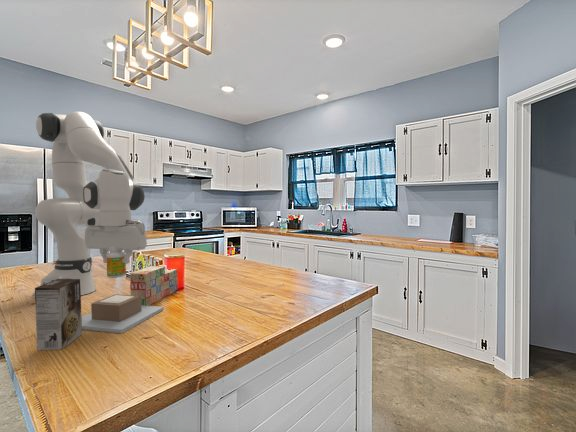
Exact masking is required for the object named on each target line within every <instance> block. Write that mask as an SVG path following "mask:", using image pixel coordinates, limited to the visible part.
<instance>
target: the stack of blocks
mask: <svg viewBox="0 0 576 432" xmlns="http://www.w3.org/2000/svg"><path fill="white" fill-rule="evenodd" d="M168 269H169V268H165V266H157V265H156V266H153V265H152V266H151V265H150V266H148V267H144V268H142V269H139V270H136V271H131V272H130V274H129V275H130V277H129V278H130V281H129V282H130V285H129V287H130V295H133V296H141V305H145V306H152V304H155V303H156V302H159V301H160V300H162V299H164V298H165V297H167V296H170V295H171V294H173V293H176V292H177V291H178V269H177V268H176V269H175V268H173V269H172V268H170V269H171V270H168Z"/></svg>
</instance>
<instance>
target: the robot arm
mask: <svg viewBox="0 0 576 432" xmlns="http://www.w3.org/2000/svg"><path fill="white" fill-rule="evenodd" d="M35 128H36V132H37V134H38V137H40V139H42V140H44V141H47V142H51V143H52V149H51V150H52V151H51V166H52V168H51V169H52V177H53V183H54V184H55V185H54V186H56V187H57V188H59V189H60V190H63V191H64V192H65V193H66V195H67V196H68V197H67V198H66V197H63V198H61V197H60V198H59V197H58V198H57V197H54V198H47V199H43V200H41V201H39V202H38V204H37V205H36V207H35V210H34V215H35V218H36V220H37V221H38V222H39V223H40V224H41V225H42V226H45V227H46V228H48V229H49V230H50V232H51V233H52V234H53V236H54V238H55V243H56V248H57V250H56V251H57V260H54V261H53V262H52V265H54V267H53V268H54V269H53V270H51V271H50V272H49V273H48V274H46V275H45V276H44V277H42V278H41V281H40V285H39V286H41V285H43V284H46V283H49V282H51V281H54V280H56V279H80V291H81V296H83V295H88V294H91V293H93V292H95V291H96V290H97V289H96V285H95V282H94V276H93V269H92V266H93V263H92V262H93V259H92V257H91V249H92V250H93V249H94V250H99V253H100V255H101V257H102V258H103V259H102V260H103V261H102V262H103V263H104V264H107V254H108V253H109V247H114V248H115V249H117V250H122V251H123V252H124V253H125V257H124V258H122V264H126V265H128V264H130V262H131V261H130V258H131V256H132V254H133V251H140V250H145V249H146V247H147V246H148V245H147V243H148V242H147V235H146V231H145V230H146V228H145V227H146V226H145V224H144V223H143V221H141V220H133V219H131V218H132V217H131V213H132V211H136V210H138V208H140V207H141V206H142V205H143V203H144V201H145V198H146V197H145V192H144V189H143V188H142V186H141V185H140V184H139V183H138V181H137V180H136V179H135V178H134V176H133V174H132V173H131V171H130V170H129V168H128V166H127V165H126V163H125V161H124V160H123V158H122V157H121V155H120V153H118V151H117V150H116V149H114V148H113V147H111V145H109V144H108V143H107V142H106V141H105V139H104V136H105V130H104V126H103V125H102V123H101V122H100V121H99V120H97V119H95V118H93V117H91V116H90V114H88V113H86V112H83V111H77V110H76V111H72V112H69V113H68V114H60V113H57V114H56V113H53V112H44V113H41V114H40V115H38V116H37V119H36V122H35ZM85 162H86V163H88V164H89V163H90V164H92V165H96V166H100V167H101V168H104V169H102V170H100V171H99V175H98V177H97V178H96V179H95V180H91V181H90V182H88V179H87V172H86V163H85ZM79 225H82V226H83V225H85V226H86V228H85V229H84V234H83V233H80V231H78V228H77V226H79ZM32 296H35V291H33V292H32Z"/></svg>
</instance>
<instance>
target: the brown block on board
mask: <svg viewBox="0 0 576 432" xmlns="http://www.w3.org/2000/svg"><path fill="white" fill-rule="evenodd" d="M90 306H91V307H90V308H91V312H89V313H87V314H84V315H83V316H82V315H81V318H82V330H85V331H86V330H88V331H95V332H97V331H98V332H107V333H115V334H117V333H118V334H124V333H126V332H127V331H129V330H130V329H132V328H134V327H136V326H138V325H140V324H141V323H142V322H144V321H146V320H149V318H151V317H153V316H155V315H157V314H159V313H160V312H162V311H164V308H165V307H164V306H155V305H149V306H145V305H141V296H133V295H131V294H129V295H128V294H112V295H109V296H106V297H104V298H102V299H100V300H97V301H94V302H91V304H90Z"/></svg>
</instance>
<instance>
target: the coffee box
mask: <svg viewBox="0 0 576 432" xmlns="http://www.w3.org/2000/svg"><path fill="white" fill-rule="evenodd" d="M34 292H35V295H34V296H35V297H34V301H35V302H34V303H35V330H36V331H35V333H36V335H35V336H36V350H37V351H43V350H44V351H47V350H51V351H54V350H55V351H56V350H63V349H64V348H65V347H67V346H69V345H70V344H71V343H72V342H74V341H75V340H76V339H77V338H79V337H80V336H82V335H83V329H82V318H81V317H82V298H81V297H82V295H81V291H80V279H56V280H54V281H51V282H49V283H46V284H43V285H41V286H40V285H38V286H37V287H34Z"/></svg>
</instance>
